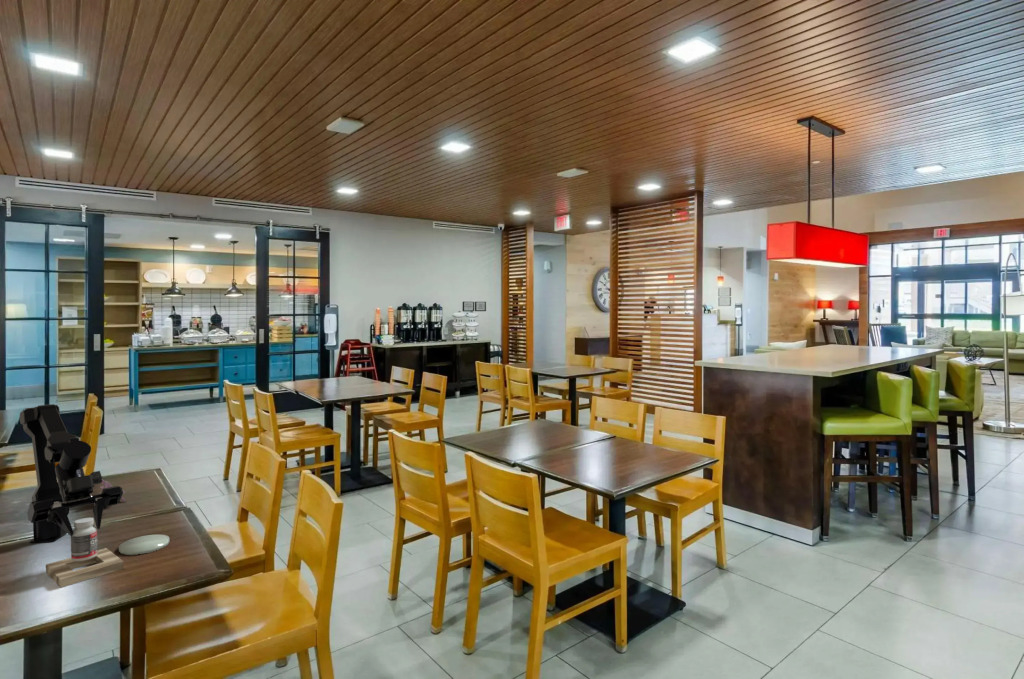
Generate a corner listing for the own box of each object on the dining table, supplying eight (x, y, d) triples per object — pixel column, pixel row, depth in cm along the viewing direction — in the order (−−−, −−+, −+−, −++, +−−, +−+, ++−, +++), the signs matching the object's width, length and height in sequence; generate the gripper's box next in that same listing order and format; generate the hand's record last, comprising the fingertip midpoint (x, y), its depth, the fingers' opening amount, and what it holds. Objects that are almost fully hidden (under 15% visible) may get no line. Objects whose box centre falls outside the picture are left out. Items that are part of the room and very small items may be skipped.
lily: (124, 510, 189) (136, 482, 194) (84, 503, 183) (97, 474, 187) (119, 512, 198) (131, 485, 202) (81, 505, 192) (93, 477, 196)
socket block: (46, 572, 141) (45, 564, 141) (106, 555, 151) (106, 548, 151) (60, 587, 133) (60, 579, 133) (123, 568, 143) (123, 561, 143)
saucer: (110, 556, 151) (109, 553, 151) (131, 539, 162) (131, 535, 162) (158, 553, 153) (158, 549, 153) (176, 536, 165) (176, 533, 165)
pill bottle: (96, 558, 142) (96, 521, 141) (70, 563, 139) (69, 525, 138) (98, 551, 146) (97, 514, 146) (72, 555, 143) (71, 518, 143)
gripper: (31, 470, 136) (44, 525, 130) (120, 456, 151) (135, 505, 145) (24, 495, 142) (36, 549, 135) (111, 478, 156) (125, 527, 150)
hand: (85, 531), depth 141 cm, fingers closed on pill bottle, 5 cm apart
